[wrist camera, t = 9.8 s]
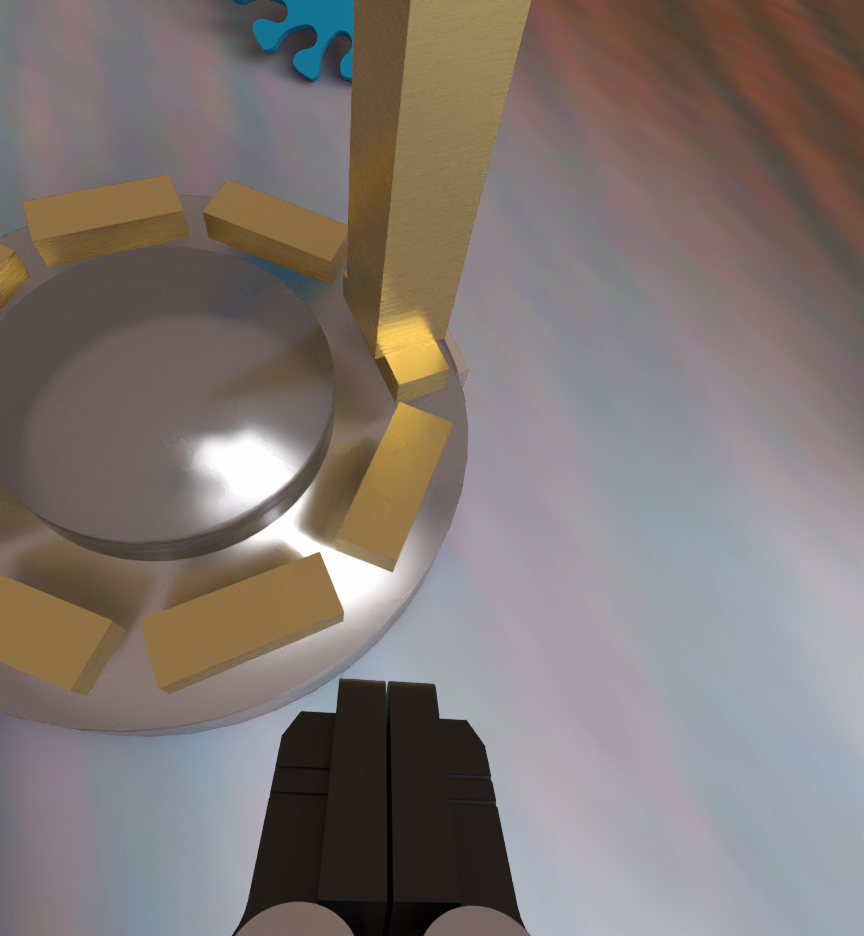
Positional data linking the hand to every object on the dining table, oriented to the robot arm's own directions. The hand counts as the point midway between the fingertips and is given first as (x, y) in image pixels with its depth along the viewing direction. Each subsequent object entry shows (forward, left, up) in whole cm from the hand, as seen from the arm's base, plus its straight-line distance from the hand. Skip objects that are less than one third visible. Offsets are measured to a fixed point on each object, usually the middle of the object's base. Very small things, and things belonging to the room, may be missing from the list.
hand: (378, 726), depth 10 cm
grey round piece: (+3, -11, -11) cm, 16 cm away
